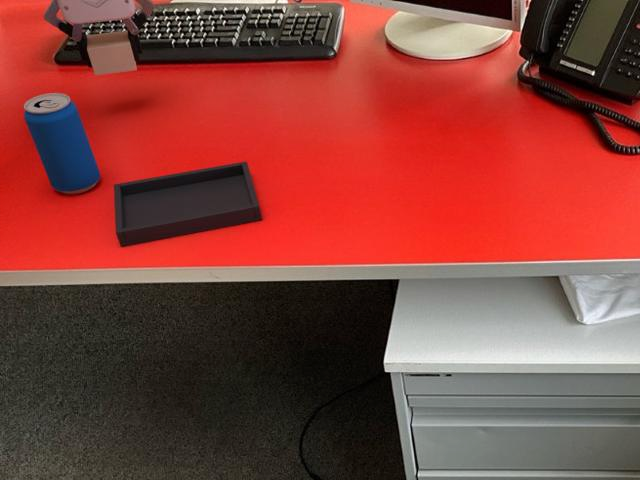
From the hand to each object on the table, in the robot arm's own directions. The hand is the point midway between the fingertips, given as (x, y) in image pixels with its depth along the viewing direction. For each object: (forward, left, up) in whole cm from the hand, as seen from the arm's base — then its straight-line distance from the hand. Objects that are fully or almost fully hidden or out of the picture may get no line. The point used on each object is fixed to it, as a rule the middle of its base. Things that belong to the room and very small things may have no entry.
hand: (114, 60), depth 136 cm
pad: (0, 0, -1) cm, 1 cm away
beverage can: (-8, -23, -8) cm, 25 cm away
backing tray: (+6, -35, -8) cm, 36 cm away
